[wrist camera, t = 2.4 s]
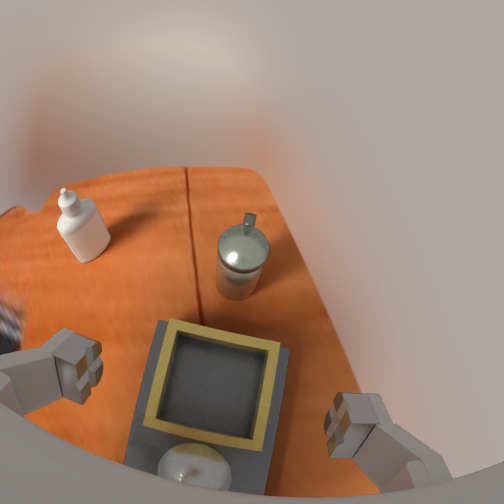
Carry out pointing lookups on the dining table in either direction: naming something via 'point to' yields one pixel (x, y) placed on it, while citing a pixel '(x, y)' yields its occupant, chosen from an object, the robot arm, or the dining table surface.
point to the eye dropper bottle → (82, 226)
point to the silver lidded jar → (240, 259)
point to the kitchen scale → (208, 407)
